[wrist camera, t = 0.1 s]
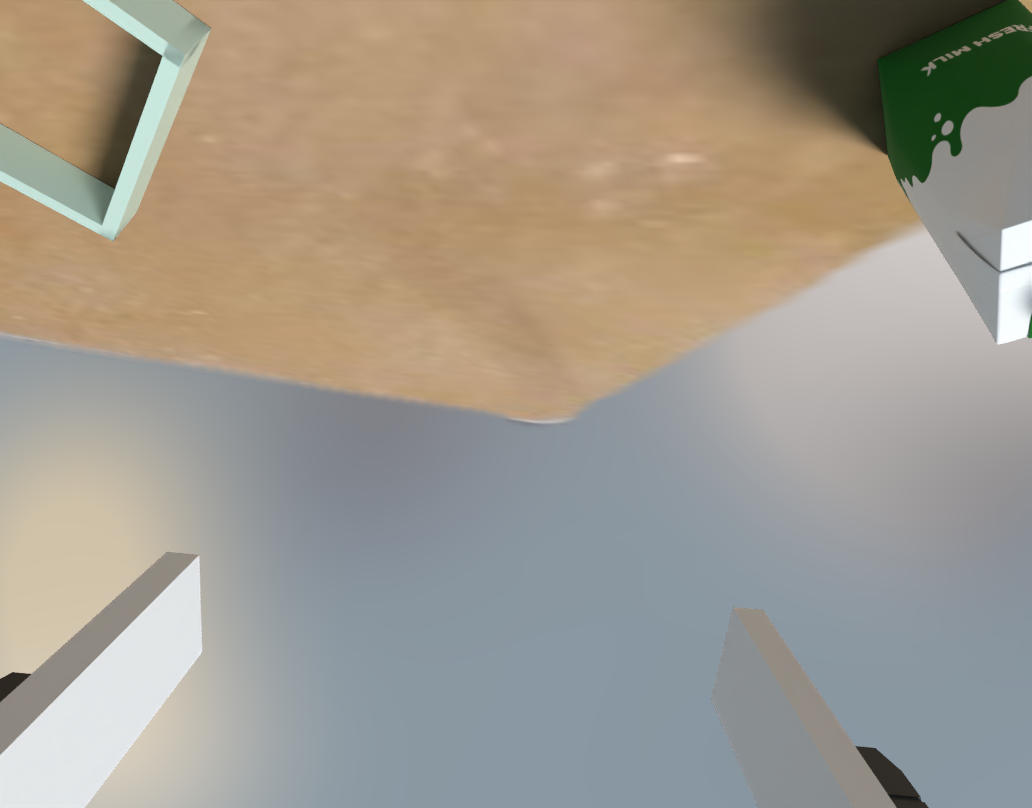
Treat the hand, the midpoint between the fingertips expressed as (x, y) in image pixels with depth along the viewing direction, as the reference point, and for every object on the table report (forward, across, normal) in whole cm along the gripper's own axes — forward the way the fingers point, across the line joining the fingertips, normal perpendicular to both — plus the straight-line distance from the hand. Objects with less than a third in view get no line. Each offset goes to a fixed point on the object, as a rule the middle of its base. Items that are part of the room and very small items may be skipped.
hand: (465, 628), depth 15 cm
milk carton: (+29, +26, +22) cm, 45 cm away
